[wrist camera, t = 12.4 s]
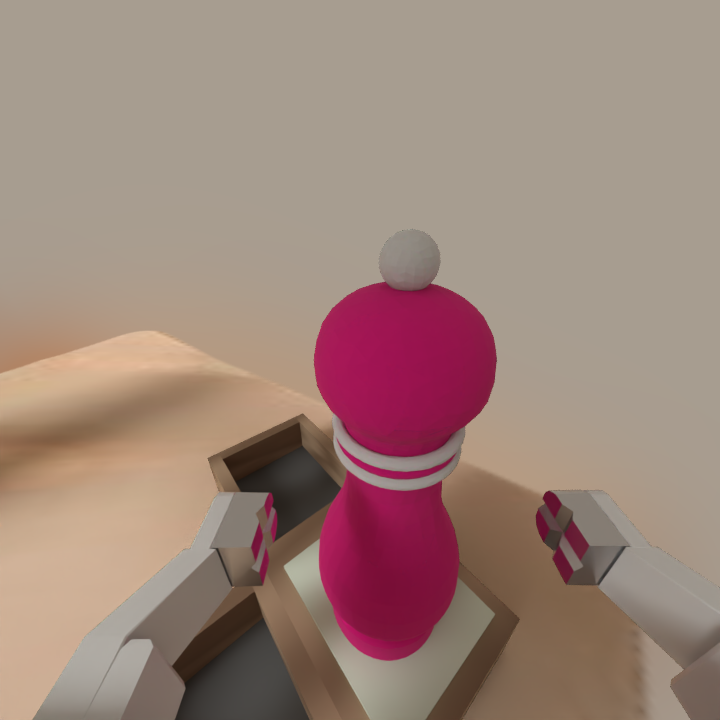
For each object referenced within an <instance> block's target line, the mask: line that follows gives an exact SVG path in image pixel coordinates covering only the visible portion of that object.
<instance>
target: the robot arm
mask: <svg viewBox="0 0 720 720" xmlns="http://www.w3.org/2000/svg"><path fill="white" fill-rule="evenodd" d="M543 500H544V502H545V504H544V505H543V506H541V507H540V508H538V511H537V514H536V525H537V528H538V532H539V534H540V536H541V538H542V540H543V542H544V543H545V544H546V545H547V546H549V547H550V548H551V549H552V550H553V557H552V559H553V561H554V563H555V565H556V567H557V568H558V570H559V572H560V574H561V576H562V578H563V580H564V582H565V583H566V585H599V586H598V588H599V589H600V590H601V591H602V592H603V593H604V594H605V595H606V596H607V597H608V598H610V599H611V600H612V601H613V602H614V603H615V604H616V605H617V606H618V607H619V608H620V609H621V610H622V611H623V612H624V613H625V614H626V615H627V616H628V617H629V618H631V619H632V620H633V621H634V622H635V623H636V624H637V625H638V626H639V627H640V628H641V629H642V630H643V631H644V632H645V633H646V634H647V635H648V636H649V637H650V638H652V639H653V640H654V641H655V642H656V643H657V644H658V645H659V646H660V647H661V648H662V649H663V650H664V651H665V652H666V653H667V654H668V655H669V656H670V657H672V658H673V659H674V660H675V661H676V662H677V663H678V664H679V665H680V666H681V667H682V668H683V669H684V670H683V671H682V672H681V673H679V674H678V675H677V676H676V677H674V678H673V679H672V680H671V686H670V687H671V689H672V690H673V692H674V693H675V695H676V697H677V698H678V700H679V702H680V703H681V705H682V706H683V708H684V709H685V711H686V713H687V714H688V716H689V718H690V719H691V720H720V587H718V586H717V585H715V584H714V583H712V582H711V581H709V580H708V579H706V578H705V577H703V576H702V575H700V574H699V573H697V572H695V571H694V570H692V569H691V568H689V567H688V566H686V565H685V564H683V563H682V562H680V561H679V560H677V559H676V558H674V557H672V556H671V555H669V554H668V553H666V552H665V551H663V550H662V549H660V548H659V547H652V546H651V545H650V544H649V543H648V542H647V541H646V539H645V538H644V537H643V535H642V534H641V533H640V532H639V531H638V530H637V528H636V527H635V526H634V525H633V524H632V522H631V521H630V520H629V519H628V517H627V516H626V515H625V514H624V513H623V511H622V510H621V509H620V508H619V507H618V506H617V504H616V503H615V502H614V501H613V500H612V498H611V497H610V496H609V495H608V494H607V493H605V492H604V491H602V490H584V491H582V490H553V491H548V492H546V493H545V494H544V497H543ZM273 501H274V499H273V496H272V493H256V492H219V493H218V494H217V496H216V497H215V498H214V500H213V502H212V504H211V506H210V508H209V510H208V512H207V514H206V517H205V519H204V521H203V523H202V525H201V527H200V529H199V531H198V533H197V535H196V537H195V539H194V541H193V543H192V545H191V547H190V549H184V550H183V551H182V552H180V553H179V554H178V555H177V556H176V557H175V558H174V559H172V560H171V561H170V562H169V563H168V564H167V565H166V566H165V567H163V568H162V569H161V570H160V571H159V572H158V573H157V574H155V575H154V576H153V577H152V578H151V579H150V580H149V581H147V582H146V583H145V584H144V585H143V586H142V587H141V588H140V589H138V590H137V591H136V592H135V593H134V594H133V595H132V596H130V597H129V598H128V599H127V600H126V601H125V602H124V603H122V604H121V605H120V606H119V607H118V608H117V609H116V610H115V611H113V612H112V613H111V614H110V615H109V616H108V617H107V618H105V619H104V620H103V621H102V622H101V623H100V624H99V625H97V626H96V627H95V628H94V629H93V630H92V631H91V632H90V633H88V634H87V635H86V636H85V637H84V639H83V640H82V642H81V643H80V645H79V647H78V648H77V650H76V651H75V653H74V654H73V656H72V658H71V659H70V661H69V662H68V664H67V666H66V667H65V669H64V670H63V672H62V674H61V675H60V677H59V678H58V680H57V682H56V683H55V685H54V686H53V688H52V690H51V691H50V693H49V694H48V696H47V697H46V699H45V701H44V702H43V704H42V705H41V707H40V709H39V710H38V712H37V713H36V715H35V717H34V718H33V720H175V718H176V715H177V712H178V709H179V706H180V703H181V700H182V697H183V694H184V691H185V689H186V688H185V685H184V681H183V680H182V679H181V677H180V676H179V675H178V674H177V672H176V671H175V670H174V669H173V667H172V665H173V664H174V663H175V661H176V660H177V659H178V657H179V656H180V655H181V654H182V652H183V651H184V650H185V649H186V647H187V646H188V645H189V643H190V642H191V641H192V640H193V638H194V637H195V636H196V635H197V633H198V632H199V631H200V629H201V628H202V627H203V626H204V624H205V623H206V622H207V620H208V619H209V618H210V617H211V615H212V614H213V613H214V612H215V610H216V609H217V608H218V606H219V605H220V604H221V603H222V601H223V600H224V599H225V598H226V596H227V595H228V594H229V592H230V591H231V590H232V587H243V586H263V584H264V580H265V576H266V572H267V568H268V564H269V556H268V552H267V550H268V549H269V548H270V547H271V546H272V545H273V544H274V540H275V535H276V529H277V513H276V510H275V509H274V508H273V507H272V504H273Z"/></svg>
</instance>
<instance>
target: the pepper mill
mask: <svg viewBox="0 0 720 720" xmlns="http://www.w3.org/2000/svg"><path fill="white" fill-rule="evenodd" d="M439 266H440V252H439V249H438V246H437V244H436V243H435V242H434V240H433V239H432V238H431V237H430V236H429V235H428V234H426V233H425V232H422V231H419V230H413V229H410V230H402V231H400V232H397V233H395V234H394V235H393V236H391V237H390V238H389V239H388V240H387V241H386V243H385V245H384V246H383V248H382V250H381V253H380V257H379V269H380V273H381V275H382V277H383V279H384V280H385V282H382V283H377V284H372V285H369V286H366V287H363V288H360V289H358V290H356V291H355V292H353V293H351V294H349V295H347V296H346V297H345V298H344V299H343V300H341V301H340V302H339V303H338V304H337V305H336V306H335V307H333V308H332V310H331V311H330V313H329V314H328V315H327V317H326V319H325V320H324V321H323V323H322V326H321V329H320V332H319V335H318V338H317V342H316V348H315V354H314V367H315V374H316V381H317V386H318V388H319V390H320V393H321V395H322V397H323V399H324V400H325V402H326V403H327V405H328V407H329V408H330V410H331V411H332V412H333V418H332V425H333V430H334V434H333V442H334V448H335V451H336V454H337V456H338V458H339V459H340V461H341V463H342V464H343V465H344V466H345V467H346V469H347V472H346V478H345V481H344V484H343V487H342V488H341V490H340V491H339V493H338V494H337V496H336V498H335V499H334V501H333V502H332V504H331V506H330V507H329V510H328V512H327V515H326V518H325V521H324V524H323V527H322V530H321V535H320V543H319V570H320V576H321V581H322V584H323V587H324V590H325V593H326V595H327V597H328V599H329V601H330V603H331V604H332V606H333V611H334V615H335V618H336V621H337V623H338V625H339V627H340V629H341V631H342V632H343V634H344V636H345V637H346V638H347V639H348V641H349V642H350V643H351V644H352V645H353V646H354V647H355V648H356V649H357V650H359V651H360V652H362V653H363V654H365V655H367V656H370V657H372V658H375V659H379V660H384V661H392V660H399V659H402V658H406V657H408V656H409V655H411V654H413V653H415V652H416V651H417V650H419V649H420V648H421V647H422V646H423V644H424V643H425V642H426V641H427V639H428V638H429V636H430V634H431V632H432V630H433V628H434V625H435V624H437V623H438V621H439V620H440V619H441V618H442V617H443V615H444V614H445V612H446V611H447V609H448V608H449V606H450V604H451V601H452V599H453V597H454V594H455V590H456V585H457V579H458V570H459V551H458V544H457V540H456V535H455V530H454V527H453V525H452V522H451V520H450V517H449V515H448V513H447V511H446V509H445V507H444V505H443V503H442V498H441V491H442V480H443V479H445V478H446V477H447V476H448V475H449V474H450V473H451V472H452V471H453V470H454V468H455V467H456V466H457V464H458V461H459V459H460V454H461V445H462V443H463V440H464V437H465V426H466V425H467V424H468V423H469V422H470V421H471V420H472V419H474V418H475V417H476V416H477V415H478V414H479V413H480V412H481V411H482V409H483V408H484V406H485V405H486V403H487V402H488V399H489V396H490V394H491V390H492V388H493V385H494V380H495V371H496V362H497V357H496V349H495V343H494V337H493V335H492V332H491V330H490V328H489V326H488V324H487V322H486V320H485V319H484V317H483V316H482V314H481V313H480V312H479V311H478V310H477V309H476V308H475V307H474V306H473V305H472V304H471V303H470V302H468V301H467V300H466V299H465V298H463V297H462V296H460V295H458V294H456V293H454V292H453V291H451V290H449V289H446V288H444V287H441V286H438V285H434V284H430V283H431V282H432V281H433V280H434V278H435V277H436V275H437V273H438V270H439Z"/></svg>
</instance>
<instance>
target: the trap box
mask: <svg viewBox="0 0 720 720" xmlns="http://www.w3.org/2000/svg"><path fill="white" fill-rule="evenodd" d="M208 461H209V464H210V467H211V470H212V472H213V475H214V478H215V481H216V484H217V487H218V489H219V491H220V492H256V493H272V496H273V499H274V501H273V504H272V507H273V508H274V509H275V510H276V513H277V529H276V535H275V540H274V544H273V545H272V546H271V547H270V548H269V549H268V550H267V552H268V556H269V564H268V568H267V572H266V576H265V580H264V584H263V586H243V587H234V588H233V589H232V590H231V591H230V592H229V594H228V595H227V596H226V598H225V599H224V600H223V601H222V603H221V604H220V605H219V606H218V608H217V609H216V610H215V612H214V613H213V614H212V615H211V617H210V618H209V619H208V620H207V622H206V623H205V624H204V626H203V627H202V628H201V629H200V631H199V632H198V633H197V635H196V636H195V637H194V638H193V640H192V641H191V642H190V643H189V645H188V646H187V647H186V649H185V650H184V651H183V652H182V654H181V655H180V656H179V657H178V659H177V660H176V661H175V663H174V664H173V665H172V667H173V669H174V670H175V671H176V672H177V674H178V675H179V676H180V677H181V679H182V680H183V681H184V685H185V688H186V689H185V691H184V694H183V697H182V700H181V703H180V706H179V709H178V712H177V715H176V718H175V720H462V719H463V717H464V715H465V713H466V712H467V710H468V708H469V707H470V705H471V703H472V702H473V700H474V698H475V697H476V695H477V693H478V692H479V690H480V688H481V687H482V685H483V683H484V681H485V680H486V678H487V676H488V675H489V673H490V671H491V670H492V668H493V666H494V665H495V663H496V661H497V660H498V658H499V656H500V655H501V653H502V651H503V650H504V648H505V646H506V644H507V642H508V640H509V638H510V637H511V635H512V633H513V631H514V629H515V627H516V625H517V623H518V622H519V620H520V619H519V618H518V617H517V616H516V615H515V614H514V613H513V612H512V611H511V610H510V609H509V608H508V607H507V606H505V605H504V604H503V603H502V602H501V601H500V600H499V599H498V598H497V597H496V596H495V595H494V594H493V593H492V592H491V591H490V590H489V589H488V588H486V587H485V586H484V585H483V584H482V583H481V582H480V581H479V580H478V579H477V578H476V577H475V576H474V575H473V574H472V573H471V572H470V571H469V570H467V569H466V568H465V567H464V566H463V565H462V564H461V563H460V562H459V570H458V579H457V585H456V590H455V594H454V597H453V599H452V601H451V604H450V606H449V608H448V609H447V611H446V612H445V614H444V615H443V617H442V618H441V619H440V620H439V621H438V623H437V624H435V625H434V628H433V630H432V632H431V634H430V636H429V638H428V639H427V641H426V642H425V643H424V644H423V646H422V647H421V648H420V649H419V650H417V651H416V652H415V653H413V654H411V655H409V656H408V657H406V658H402V659H399V660H392V661H384V660H379V659H375V658H372V657H370V656H367V655H365V654H363V653H362V652H360V651H359V650H357V649H356V648H355V647H354V646H353V645H352V644H351V643H350V642H349V641H348V639H347V638H346V637H345V636H344V634H343V632H342V631H341V629H340V627H339V625H338V623H337V621H336V618H335V615H334V611H333V606H332V604H331V603H330V601H329V599H328V597H327V595H326V593H325V590H324V587H323V584H322V581H321V576H320V570H319V543H320V535H321V530H322V527H323V524H324V521H325V518H326V515H327V512H328V510H329V507H330V506H331V504H332V502H333V501H334V499H335V498H336V496H337V494H338V493H339V491H340V490H341V488H342V487H343V484H344V481H345V478H346V472H347V469H346V467H345V466H344V465H343V464H342V463H341V461H340V459H339V458H338V456H337V454H336V451H335V448H334V443H333V442H332V441H331V440H330V439H329V438H328V437H327V436H326V435H325V434H324V433H323V432H322V431H321V430H320V429H319V428H318V427H317V426H315V425H314V424H313V423H312V422H311V421H310V420H309V419H308V418H307V417H306V416H305V415H304V414H301V415H299V416H297V417H294V418H292V419H290V420H288V421H286V422H284V423H282V424H280V425H277V426H275V427H273V428H271V429H269V430H267V431H265V432H262V433H260V434H258V435H256V436H254V437H252V438H250V439H248V440H245V441H243V442H241V443H239V444H237V445H235V446H233V447H230V448H228V449H226V450H224V451H222V452H220V453H218V454H216V455H213V456H211V457H209V458H208Z"/></svg>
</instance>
